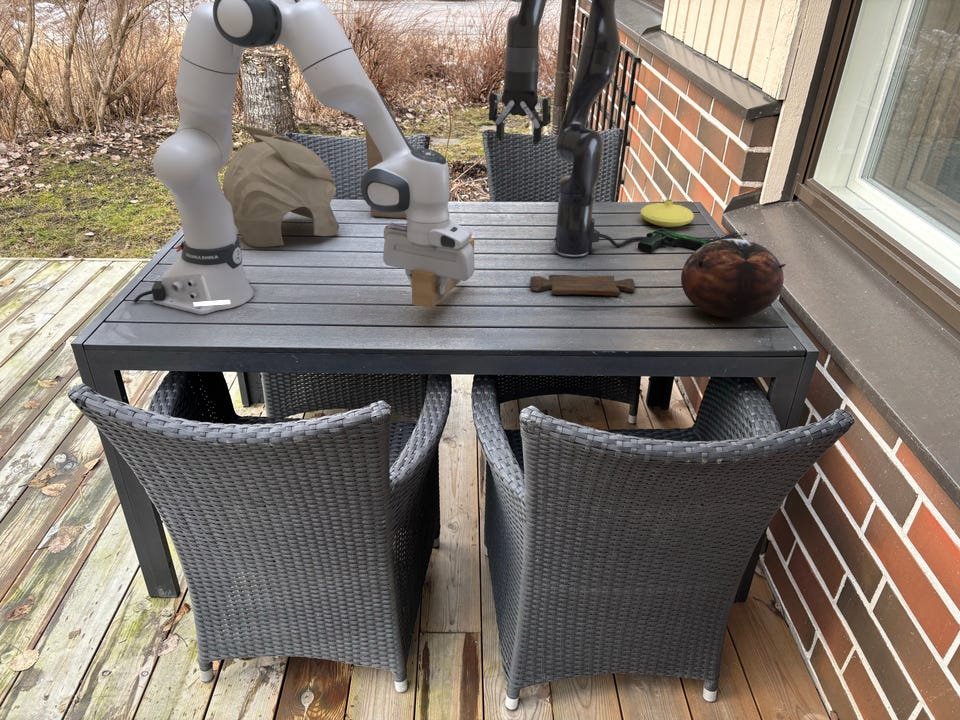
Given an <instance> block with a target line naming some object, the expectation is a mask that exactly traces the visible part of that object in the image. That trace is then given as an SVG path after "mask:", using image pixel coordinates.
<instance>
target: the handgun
mask: <svg viewBox="0 0 960 720" xmlns="http://www.w3.org/2000/svg"><path fill="white" fill-rule="evenodd" d="M645 237H648V238H645V239H642V240H638V244H637V249H638V250H639V251H642V252H646V253H650V254H651V253H652V252H653V251H654V250H655V249H658V248H660V247H663V246H665V247H669V248H670V247H671V248H672V247H684V248H688V249H691V250H692V249H693V250H695V251H696V250H698V249H699V248H701V247H702V246H704V245H706V244H709V242H708V240H704V238H699V237H695V236H690V235H685V234H681V233H677V232H675V231H671V230H668V229H666V228H661V227H660V228H658V229H655V230H654V231H652V232H647V233H646V235H645Z"/></svg>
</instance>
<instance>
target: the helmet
mask: <svg viewBox="0 0 960 720" xmlns="http://www.w3.org/2000/svg"><path fill="white" fill-rule="evenodd" d="M238 128H239V129H242V130H244V131H245V132H246V133H247V134H248V135H249V136H250V137H251V138H252V140H254V143H250V144H246V145H245V146H243V147H242V148H241V149H239V150H238V151H237V152H236V153H234V154H233V156H232V157H230V159H229V162H228V166H227V167H226V169H225V171H224V175H223V179H222V192H223V194H224V196H225V198H226V200H228V201H229V202H230V204H231V206H232V211H233V217H234V223H235V229H236V230H237V231H238V232H239V234H240V236H241V238H242V239H243V241H244V242H245V244H247V245H248V246H251V247H255V248H257V247H258V248H268V247H278V246H284V245H285V244H284V240H283V237H282V222H283V220H284V217H285V216H287V214H288V213H293V214H295V215H298V216H302V217H305V218H309V219H312V221H313V222H312V223H313V235H314V236H322V237H327V236H338V235H339V231H340V224H339V222H338V221H337V219H336V216H335V214H334V212H333V208H332V206H331V202H332V201H333V199H334V197H335V196H336V193H337V187H336V185H335V182H334V178H333V174H332V171H331V169H330V168H329V167H328V166H327V164H326V163H325V162H324V161H323V159H322V158H321V157H320V156H319V155H318V154H317V153H316V152H315V151H313V150H312V149H311V148H308V147H306V146H305V145H303V144H300V143H299V142H298V141H296V140H294V139H292V138H290V137H287V136H283V135H279V134H277V133H275V132H272V131H270V130H268V129H263V128H260V127H255V126H250V125H249V126H248V125H239V126H238Z"/></svg>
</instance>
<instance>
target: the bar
mask: <svg viewBox="0 0 960 720" xmlns="http://www.w3.org/2000/svg"><path fill="white" fill-rule="evenodd" d="M469 243H470V244H471V245H472V247H473V251H474V252H475V237H471V239H470V240H469ZM442 282H443V281H441V276H437V275H435V274H434V273H430V272H425V271H420V270H415V269H414V270H413V271H412V288H411V305H412V306H416V307H421V308H424V309H425V308H426V309H429V310H432V309H433V308H435V306H436V305H438V303H440V302H441V301H442V300H443V299H444V298H445V297H446V296H447V295H448V294H449V293H450V292H451V291H452V290H453V289H454V288H455V287H456V286H457V285H458V284H459V283H461V280H457V279H452V278H450V279H449V281H448V282H447V284H446V285H445V293H444V294H443V295H442V294H438V293H436V286H437V285H438V284H439V283H440V284H442Z"/></svg>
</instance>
